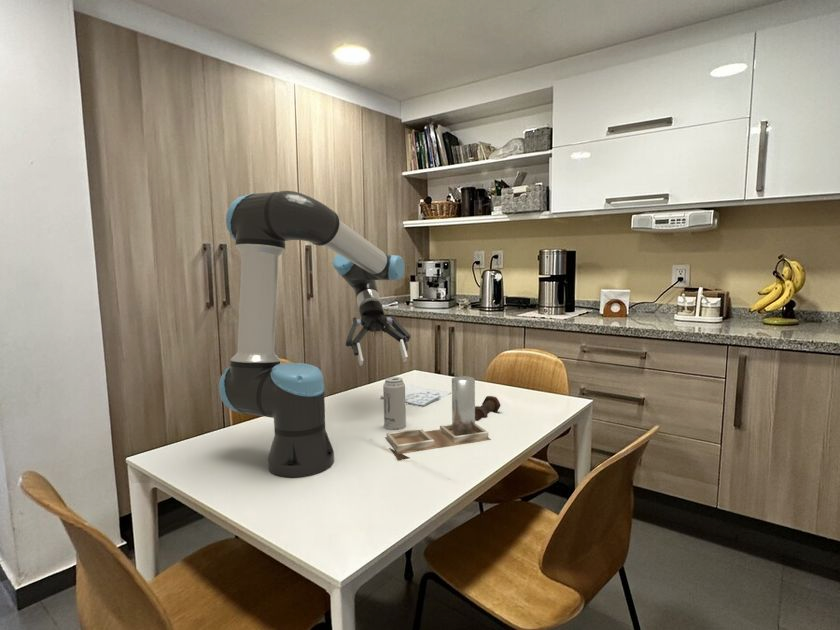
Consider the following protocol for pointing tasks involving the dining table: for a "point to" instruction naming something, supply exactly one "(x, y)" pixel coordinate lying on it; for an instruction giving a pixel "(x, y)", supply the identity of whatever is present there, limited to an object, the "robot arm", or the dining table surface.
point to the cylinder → (463, 405)
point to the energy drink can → (394, 404)
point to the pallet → (430, 439)
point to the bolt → (487, 407)
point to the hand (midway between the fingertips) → (384, 361)
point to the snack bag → (421, 395)
